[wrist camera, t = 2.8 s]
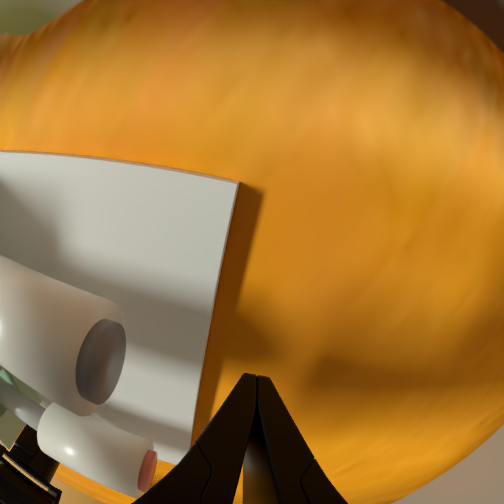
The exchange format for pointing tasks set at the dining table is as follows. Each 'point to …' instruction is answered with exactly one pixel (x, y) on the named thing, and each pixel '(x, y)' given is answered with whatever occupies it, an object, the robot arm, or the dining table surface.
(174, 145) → the dining table surface
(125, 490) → the knob
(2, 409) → the mount
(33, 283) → the knob
